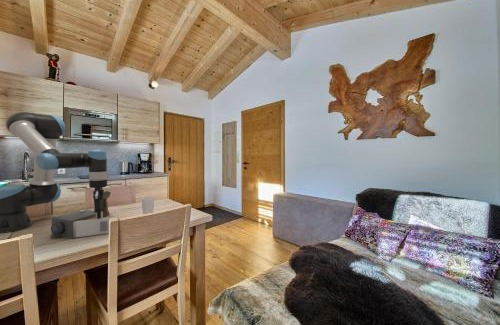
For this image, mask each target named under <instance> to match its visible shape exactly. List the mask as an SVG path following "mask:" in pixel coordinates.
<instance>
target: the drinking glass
mask: <svg viewBox="0 0 500 325" xmlns="http://www.w3.org/2000/svg"><path fill="white" fill-rule="evenodd" d="M154 206H155V197H154V196H150V195H148V196H143V197H142V198H141V207H142V209H141V210H142V215H143V214H148V213H153V214H154Z"/></svg>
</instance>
